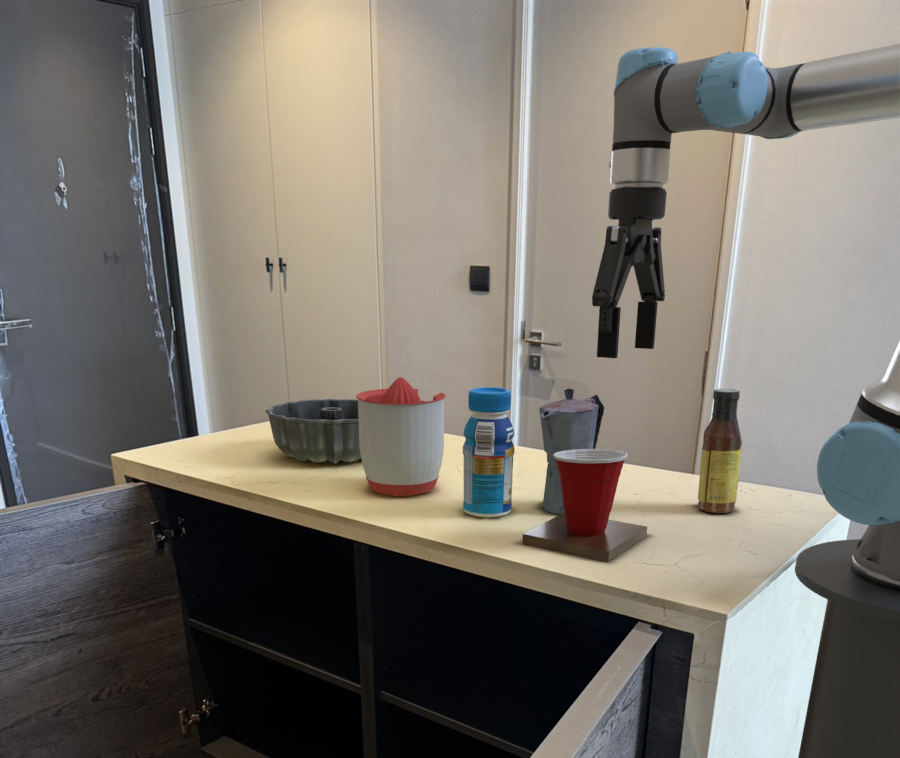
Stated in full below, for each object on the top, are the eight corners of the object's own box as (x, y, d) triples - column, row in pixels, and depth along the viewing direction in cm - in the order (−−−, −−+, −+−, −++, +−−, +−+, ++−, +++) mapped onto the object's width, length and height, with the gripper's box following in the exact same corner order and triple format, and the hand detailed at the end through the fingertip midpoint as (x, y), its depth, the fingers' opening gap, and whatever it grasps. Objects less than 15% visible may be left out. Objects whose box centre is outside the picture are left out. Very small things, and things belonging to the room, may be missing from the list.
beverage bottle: (451, 510, 145) (452, 389, 137) (490, 501, 150) (493, 384, 142) (483, 522, 139) (486, 396, 131) (522, 513, 143) (527, 391, 136)
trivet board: (646, 535, 133) (647, 526, 132) (608, 561, 122) (609, 551, 121) (565, 520, 140) (565, 511, 139) (522, 543, 129) (522, 533, 128)
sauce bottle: (742, 510, 145) (759, 390, 137) (718, 517, 142) (734, 394, 134) (711, 502, 150) (725, 385, 142) (687, 507, 147) (700, 389, 139)
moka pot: (517, 511, 144) (521, 390, 137) (571, 493, 155) (578, 379, 147) (564, 523, 138) (571, 396, 131) (617, 503, 149) (626, 385, 141)
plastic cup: (600, 516, 137) (606, 441, 132) (635, 537, 127) (642, 457, 122) (538, 523, 133) (541, 446, 129) (568, 544, 124) (573, 462, 119)
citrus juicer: (469, 486, 159) (470, 375, 151) (402, 506, 147) (400, 387, 139) (409, 472, 168) (407, 367, 161) (341, 489, 157) (336, 377, 149)
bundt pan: (363, 437, 198) (361, 393, 194) (419, 461, 177) (418, 412, 173) (252, 450, 185) (248, 403, 182) (298, 477, 165) (295, 425, 161)
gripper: (646, 192, 126) (634, 343, 134) (571, 183, 107) (563, 360, 115) (696, 190, 122) (681, 346, 130) (628, 180, 103) (616, 363, 111)
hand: (626, 353), depth 122 cm, fingers open, 13 cm apart
